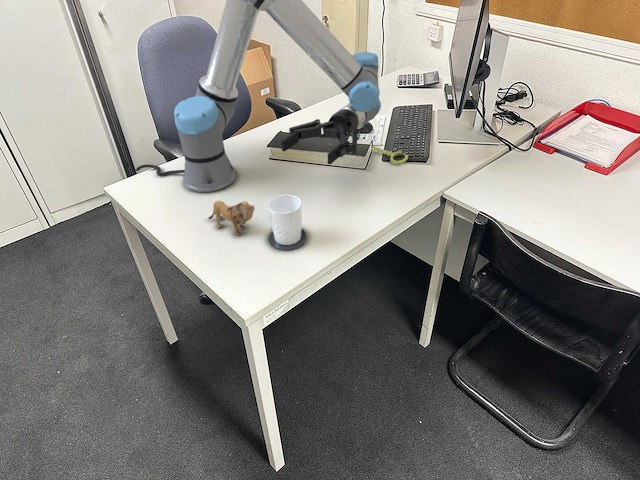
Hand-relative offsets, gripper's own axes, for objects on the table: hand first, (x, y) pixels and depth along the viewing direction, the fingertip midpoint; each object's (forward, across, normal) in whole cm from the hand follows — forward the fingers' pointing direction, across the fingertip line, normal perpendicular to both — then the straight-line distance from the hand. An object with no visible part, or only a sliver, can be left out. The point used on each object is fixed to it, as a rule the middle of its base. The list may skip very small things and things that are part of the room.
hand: (305, 152), depth 106 cm
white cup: (+14, -3, -16) cm, 22 cm away
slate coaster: (+14, -3, -17) cm, 22 cm away
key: (-37, -8, -17) cm, 41 cm away
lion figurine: (+17, +12, -17) cm, 27 cm away
